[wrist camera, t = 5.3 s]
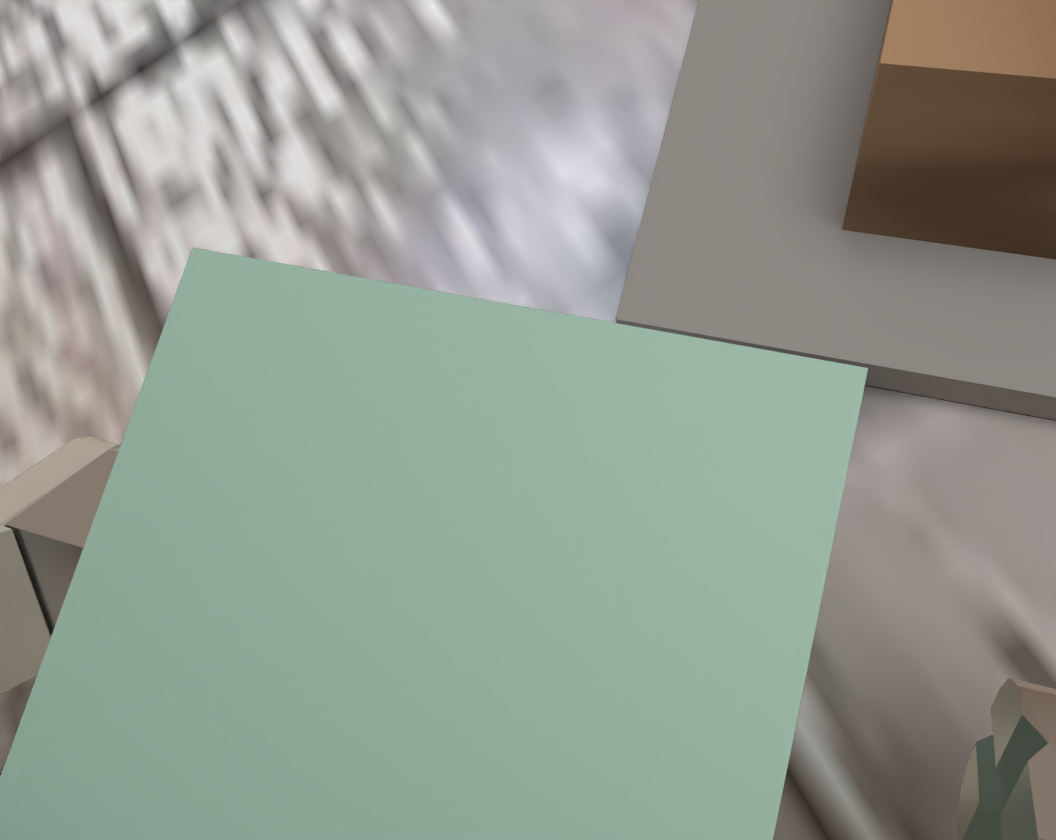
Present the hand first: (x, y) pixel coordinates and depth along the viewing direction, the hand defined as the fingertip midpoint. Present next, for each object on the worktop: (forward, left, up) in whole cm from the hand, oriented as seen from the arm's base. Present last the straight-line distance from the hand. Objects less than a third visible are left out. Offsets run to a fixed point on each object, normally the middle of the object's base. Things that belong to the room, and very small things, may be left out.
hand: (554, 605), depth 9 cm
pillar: (0, -1, -5) cm, 5 cm away
